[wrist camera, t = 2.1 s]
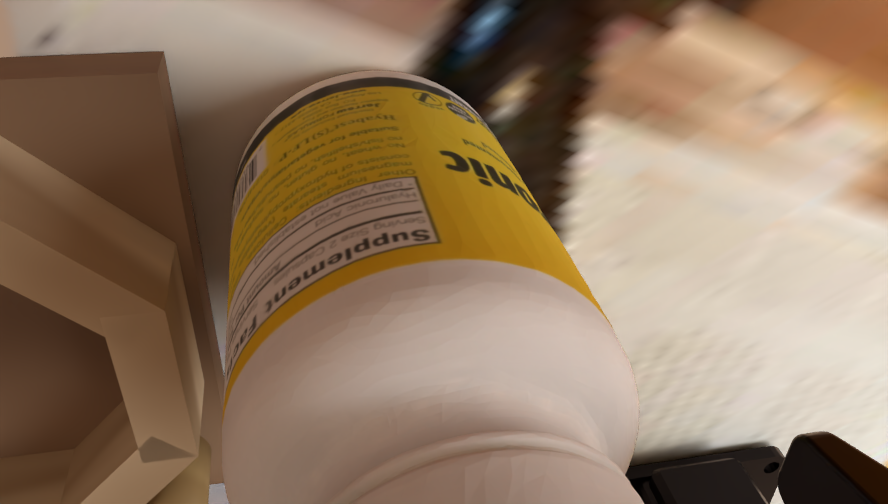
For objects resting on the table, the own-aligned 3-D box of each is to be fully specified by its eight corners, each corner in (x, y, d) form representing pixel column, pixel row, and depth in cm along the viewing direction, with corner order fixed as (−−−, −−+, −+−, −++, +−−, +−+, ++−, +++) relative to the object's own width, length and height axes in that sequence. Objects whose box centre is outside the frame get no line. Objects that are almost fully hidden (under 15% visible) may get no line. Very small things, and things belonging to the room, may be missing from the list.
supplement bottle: (536, 228, 17) (791, 682, 9) (318, 332, 17) (371, 855, 9) (440, 7, 13) (706, 406, 5) (175, 141, 14) (62, 694, 6)
